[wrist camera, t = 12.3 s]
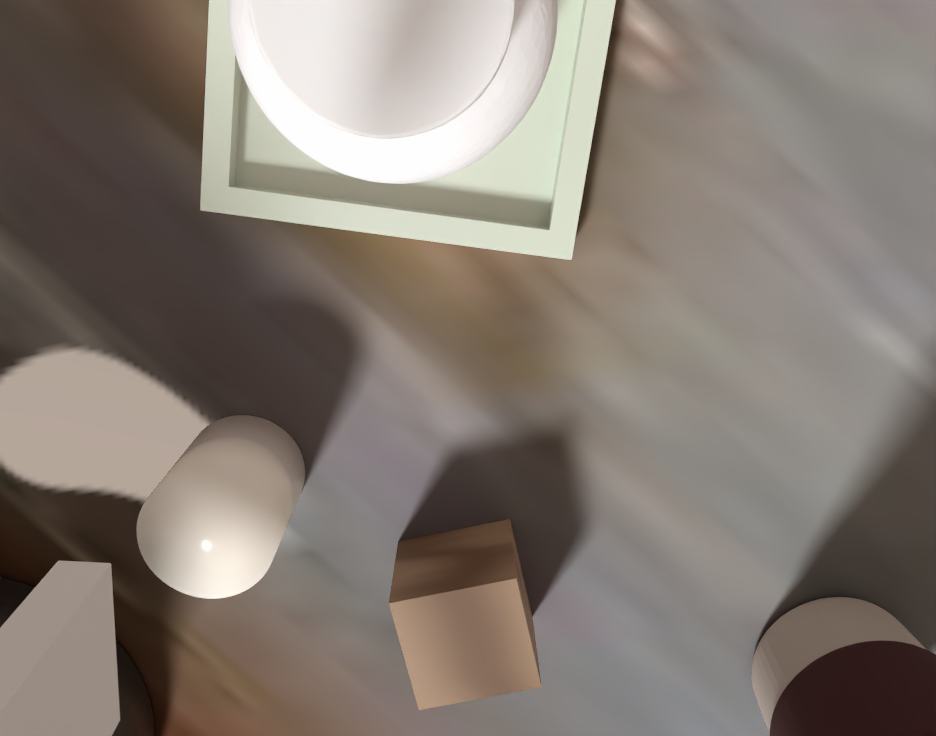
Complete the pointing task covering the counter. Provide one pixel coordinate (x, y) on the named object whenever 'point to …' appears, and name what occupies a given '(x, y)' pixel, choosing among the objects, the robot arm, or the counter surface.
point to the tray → (430, 202)
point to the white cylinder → (222, 508)
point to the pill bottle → (394, 78)
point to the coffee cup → (844, 673)
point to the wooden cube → (464, 615)
